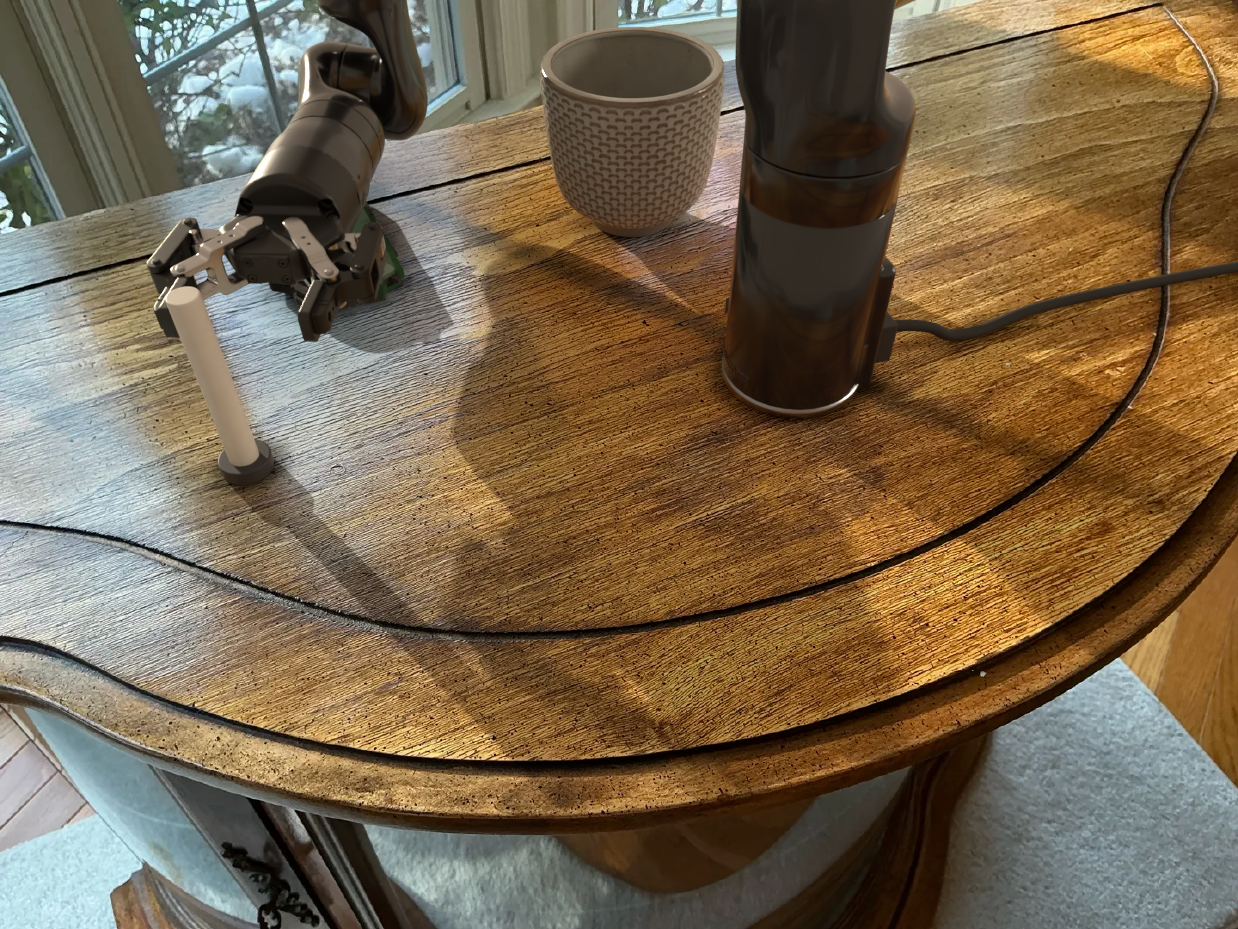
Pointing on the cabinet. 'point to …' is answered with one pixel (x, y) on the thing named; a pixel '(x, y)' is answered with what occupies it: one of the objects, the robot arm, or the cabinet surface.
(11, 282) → the cabinet surface
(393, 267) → the gun
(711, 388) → the cabinet surface
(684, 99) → the planter
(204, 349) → the beige rod with base
